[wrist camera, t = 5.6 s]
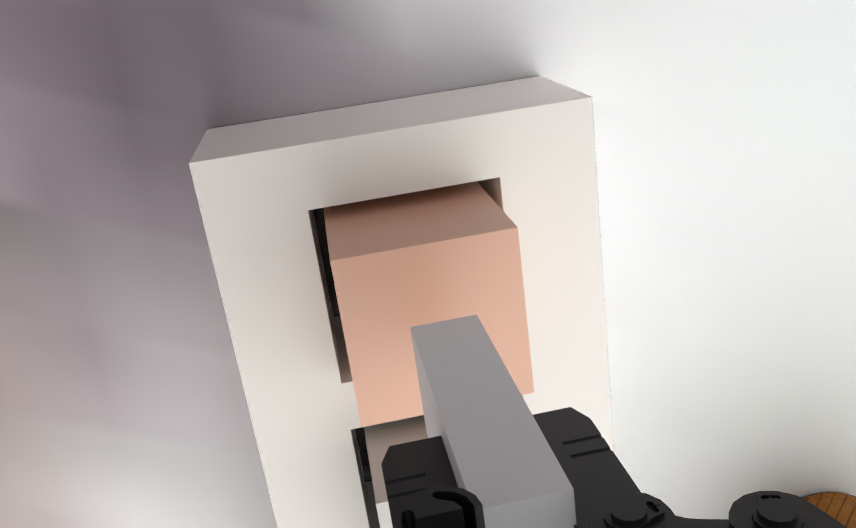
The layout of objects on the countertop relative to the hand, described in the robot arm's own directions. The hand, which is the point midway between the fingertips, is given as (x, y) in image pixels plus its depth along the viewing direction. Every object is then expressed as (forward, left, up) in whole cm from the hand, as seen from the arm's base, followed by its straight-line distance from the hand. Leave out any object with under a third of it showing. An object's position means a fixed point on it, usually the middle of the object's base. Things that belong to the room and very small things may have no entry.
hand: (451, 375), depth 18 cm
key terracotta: (0, 0, -8) cm, 8 cm away
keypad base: (0, +7, -11) cm, 13 cm away
